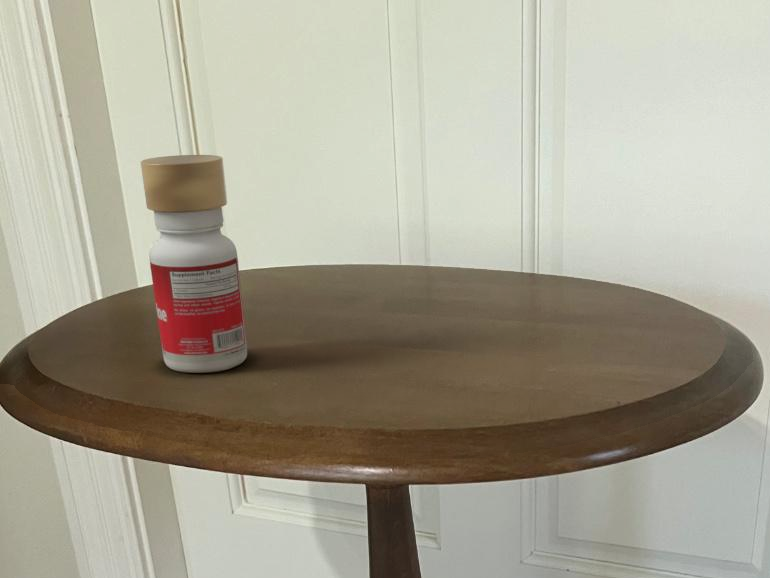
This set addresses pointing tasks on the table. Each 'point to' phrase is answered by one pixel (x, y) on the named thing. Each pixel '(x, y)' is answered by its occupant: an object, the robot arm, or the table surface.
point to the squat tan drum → (184, 183)
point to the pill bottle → (197, 292)
